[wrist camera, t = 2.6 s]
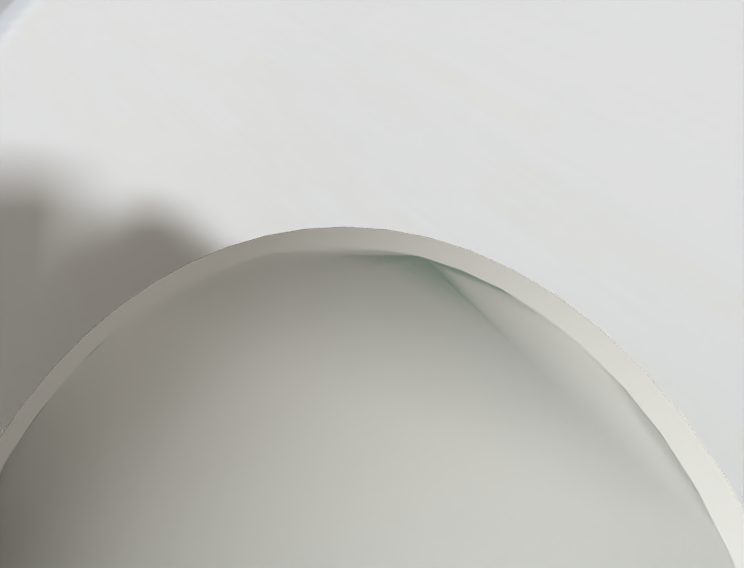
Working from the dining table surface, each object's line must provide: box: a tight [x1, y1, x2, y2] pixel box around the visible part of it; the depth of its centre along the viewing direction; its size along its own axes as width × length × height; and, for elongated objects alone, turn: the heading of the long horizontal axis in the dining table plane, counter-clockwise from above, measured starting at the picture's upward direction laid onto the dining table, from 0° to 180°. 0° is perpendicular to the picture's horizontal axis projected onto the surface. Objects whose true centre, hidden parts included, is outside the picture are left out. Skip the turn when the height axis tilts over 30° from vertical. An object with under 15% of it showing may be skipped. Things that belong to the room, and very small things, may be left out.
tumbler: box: [0, 227, 744, 568], centre depth 8 cm, size 6×6×12 cm
